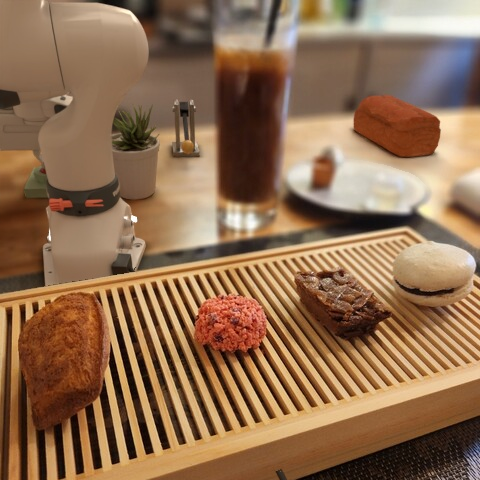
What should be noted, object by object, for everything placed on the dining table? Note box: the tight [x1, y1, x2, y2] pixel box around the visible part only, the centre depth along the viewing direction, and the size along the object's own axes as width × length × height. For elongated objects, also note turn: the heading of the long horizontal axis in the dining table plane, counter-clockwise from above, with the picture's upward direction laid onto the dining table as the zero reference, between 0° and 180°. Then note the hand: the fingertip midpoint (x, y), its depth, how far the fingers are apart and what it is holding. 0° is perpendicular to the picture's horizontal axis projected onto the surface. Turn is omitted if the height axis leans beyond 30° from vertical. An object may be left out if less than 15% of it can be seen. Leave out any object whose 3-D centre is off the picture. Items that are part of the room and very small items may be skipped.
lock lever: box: [178, 101, 194, 154], centre depth 119 cm, size 16×3×3 cm, turn 8°
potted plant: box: [112, 102, 160, 200], centre depth 101 cm, size 13×14×20 cm
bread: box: [353, 94, 442, 158], centre depth 138 cm, size 16×27×11 cm, turn 21°
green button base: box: [23, 165, 48, 199], centre depth 107 cm, size 12×10×4 cm
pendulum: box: [171, 99, 200, 158], centre depth 124 cm, size 8×7×13 cm
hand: (49, 168), depth 106 cm, fingers closed, pressing on lock button
